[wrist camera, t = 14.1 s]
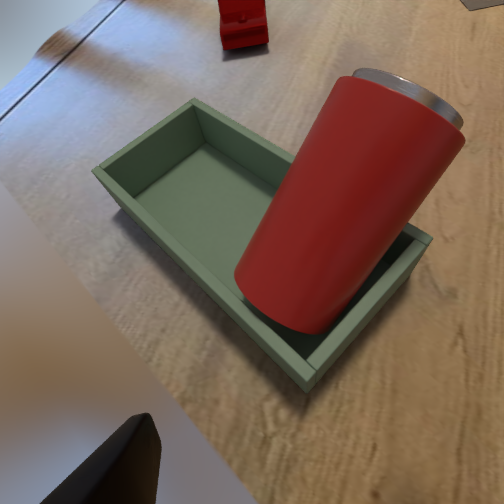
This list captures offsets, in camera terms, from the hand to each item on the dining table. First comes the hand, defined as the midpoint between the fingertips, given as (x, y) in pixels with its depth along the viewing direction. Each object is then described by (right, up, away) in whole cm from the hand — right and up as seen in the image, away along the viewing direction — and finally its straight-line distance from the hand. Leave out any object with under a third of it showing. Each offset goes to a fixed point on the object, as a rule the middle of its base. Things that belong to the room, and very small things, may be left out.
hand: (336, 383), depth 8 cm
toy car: (-3, +32, +33) cm, 46 cm away
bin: (-2, +4, +17) cm, 18 cm away
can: (0, +1, +11) cm, 11 cm away
